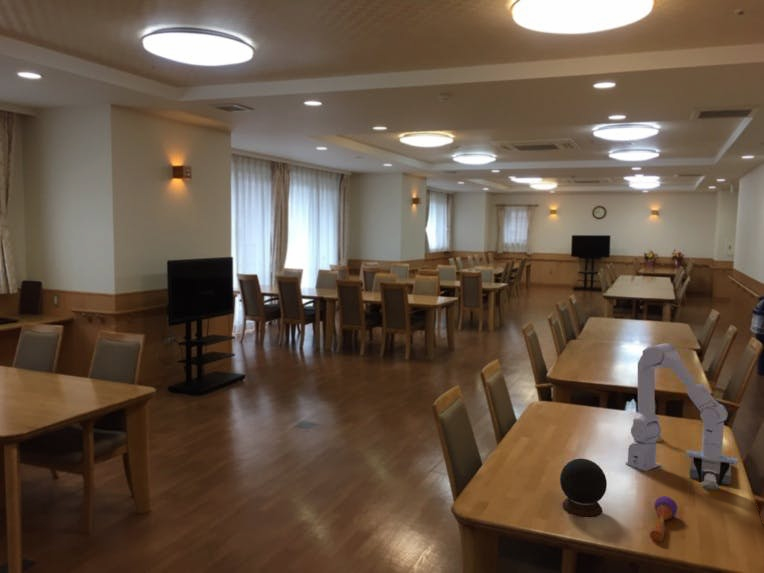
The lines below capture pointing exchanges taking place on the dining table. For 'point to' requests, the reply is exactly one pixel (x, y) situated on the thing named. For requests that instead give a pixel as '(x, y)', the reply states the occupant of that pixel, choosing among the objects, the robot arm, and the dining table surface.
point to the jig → (710, 466)
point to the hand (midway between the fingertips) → (709, 482)
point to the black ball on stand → (583, 487)
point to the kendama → (663, 516)
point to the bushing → (710, 479)
